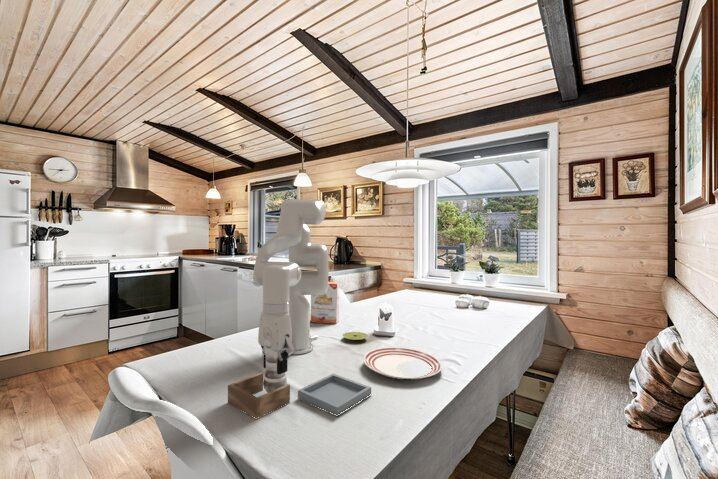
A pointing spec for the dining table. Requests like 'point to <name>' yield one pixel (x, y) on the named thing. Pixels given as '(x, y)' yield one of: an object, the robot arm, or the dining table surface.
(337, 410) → the grey square tray
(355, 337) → the mat
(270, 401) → the walnut bay
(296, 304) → the robot arm
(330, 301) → the cracker box
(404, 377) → the dinner plate
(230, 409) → the dining table surface
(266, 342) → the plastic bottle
